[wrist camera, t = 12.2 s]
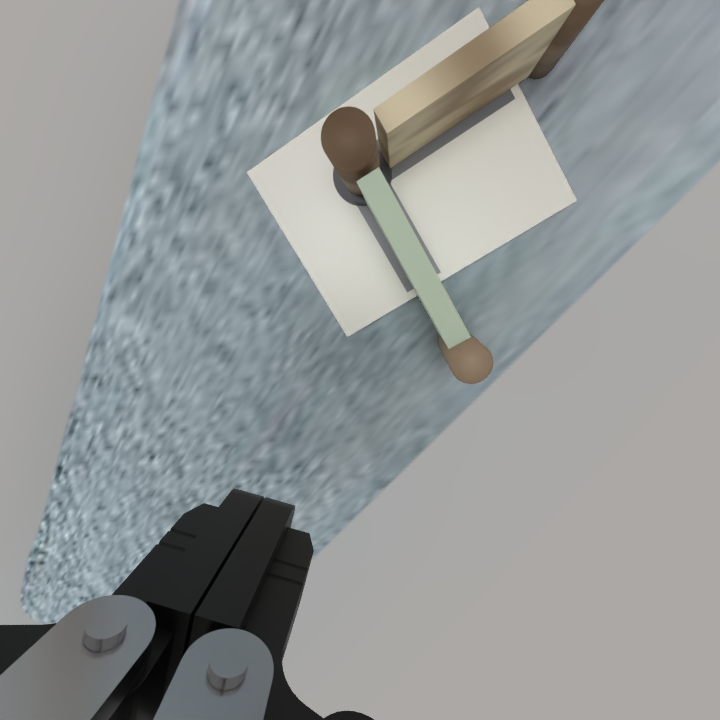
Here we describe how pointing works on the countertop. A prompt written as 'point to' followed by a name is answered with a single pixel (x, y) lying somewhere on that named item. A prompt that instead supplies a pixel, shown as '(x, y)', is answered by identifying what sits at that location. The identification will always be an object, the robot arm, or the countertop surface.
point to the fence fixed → (454, 87)
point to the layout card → (414, 192)
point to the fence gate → (426, 283)
